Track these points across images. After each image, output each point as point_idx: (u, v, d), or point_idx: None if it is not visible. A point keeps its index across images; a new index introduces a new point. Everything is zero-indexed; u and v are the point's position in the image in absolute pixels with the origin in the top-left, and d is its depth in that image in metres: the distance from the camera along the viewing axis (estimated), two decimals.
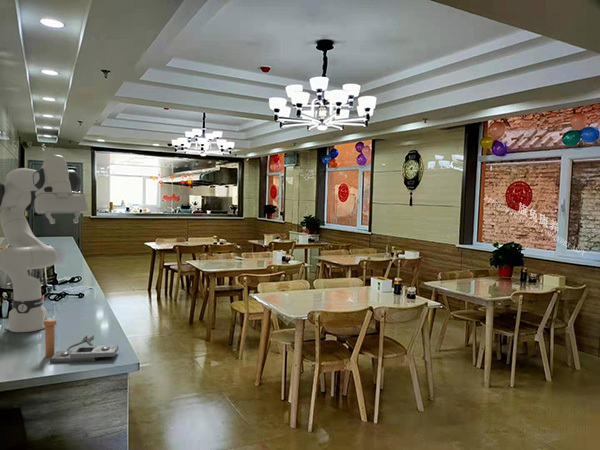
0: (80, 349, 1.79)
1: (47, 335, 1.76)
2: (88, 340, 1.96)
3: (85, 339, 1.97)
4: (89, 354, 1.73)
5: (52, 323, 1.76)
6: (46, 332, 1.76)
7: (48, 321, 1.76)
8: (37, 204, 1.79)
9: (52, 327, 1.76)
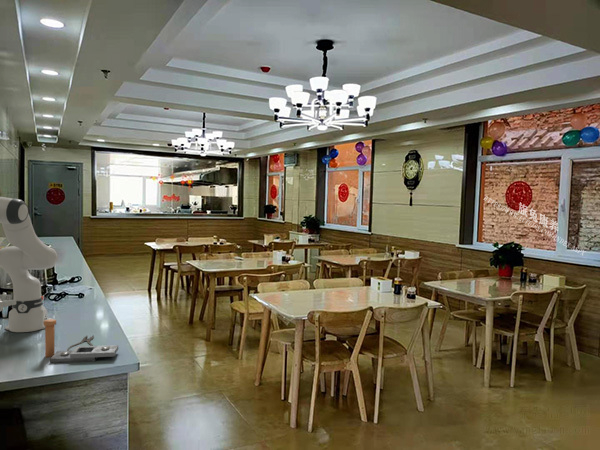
0: (80, 349, 1.79)
1: (47, 335, 1.76)
2: (88, 340, 1.96)
3: (85, 339, 1.97)
4: (89, 354, 1.73)
5: (52, 323, 1.76)
6: (46, 332, 1.76)
7: (48, 321, 1.76)
8: None
9: (52, 327, 1.76)
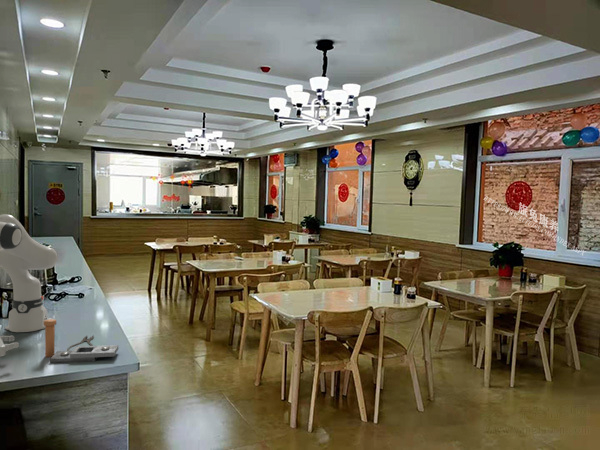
0: (80, 349, 1.79)
1: (47, 335, 1.76)
2: (88, 340, 1.96)
3: (85, 339, 1.97)
4: (89, 354, 1.73)
5: (52, 323, 1.76)
6: (46, 332, 1.76)
7: (48, 321, 1.76)
8: None
9: (52, 327, 1.76)
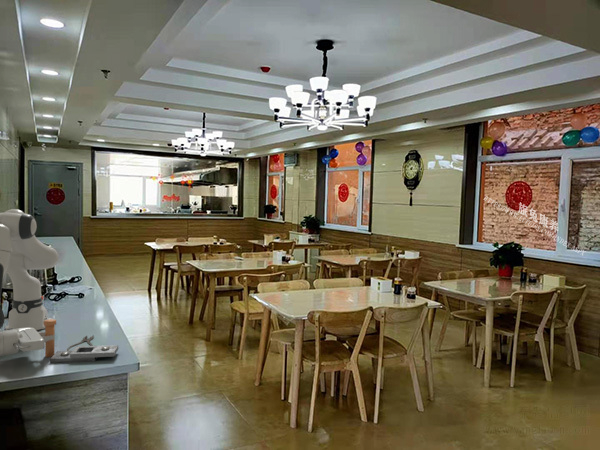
0: (80, 349, 1.79)
1: (47, 335, 1.76)
2: (88, 340, 1.96)
3: (85, 339, 1.97)
4: (89, 354, 1.73)
5: (52, 323, 1.76)
6: (46, 332, 1.76)
7: (48, 321, 1.76)
8: None
9: (52, 327, 1.76)
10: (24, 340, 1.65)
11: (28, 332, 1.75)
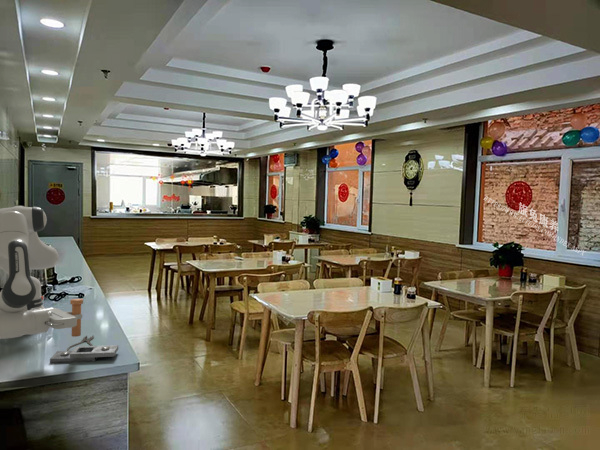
0: (80, 349, 1.79)
1: (74, 314, 1.74)
2: (88, 340, 1.96)
3: (85, 339, 1.97)
4: (89, 354, 1.73)
5: (80, 302, 1.74)
6: (73, 311, 1.74)
7: (75, 300, 1.74)
8: None
9: (79, 306, 1.75)
10: (57, 318, 1.63)
11: (54, 311, 1.72)
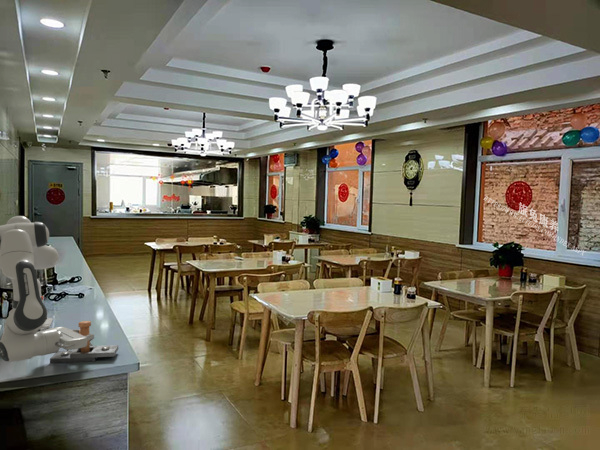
0: (80, 349, 1.79)
1: None
2: None
3: None
4: (89, 354, 1.73)
5: (88, 324, 1.75)
6: (82, 334, 1.75)
7: (83, 323, 1.75)
8: None
9: (88, 328, 1.76)
10: (68, 339, 1.64)
11: (63, 331, 1.73)
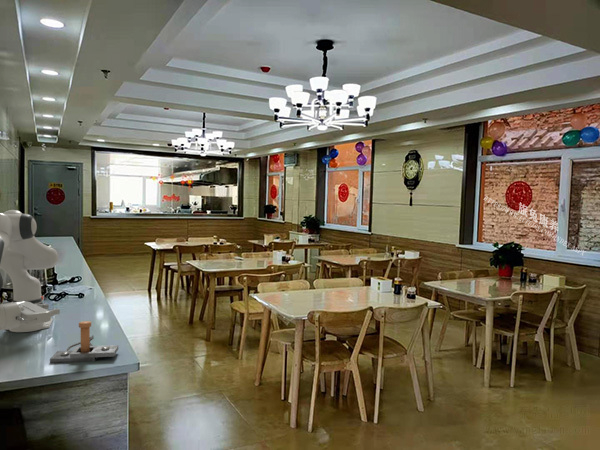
0: (80, 349, 1.79)
1: (83, 337, 1.75)
2: None
3: None
4: (89, 354, 1.73)
5: (88, 325, 1.75)
6: (82, 334, 1.75)
7: (84, 323, 1.75)
8: None
9: (88, 329, 1.75)
10: (29, 312, 1.53)
11: (26, 305, 1.62)
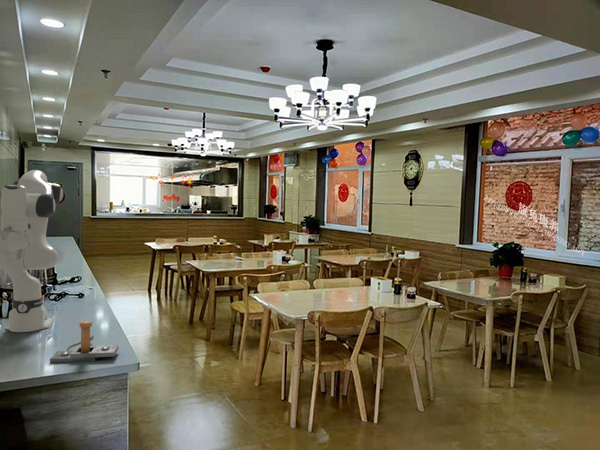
0: (80, 349, 1.79)
1: (84, 337, 1.75)
2: None
3: None
4: (89, 354, 1.73)
5: (89, 325, 1.75)
6: (83, 334, 1.75)
7: (84, 323, 1.75)
8: None
9: (88, 329, 1.76)
10: (11, 235, 1.69)
11: (23, 240, 1.80)
